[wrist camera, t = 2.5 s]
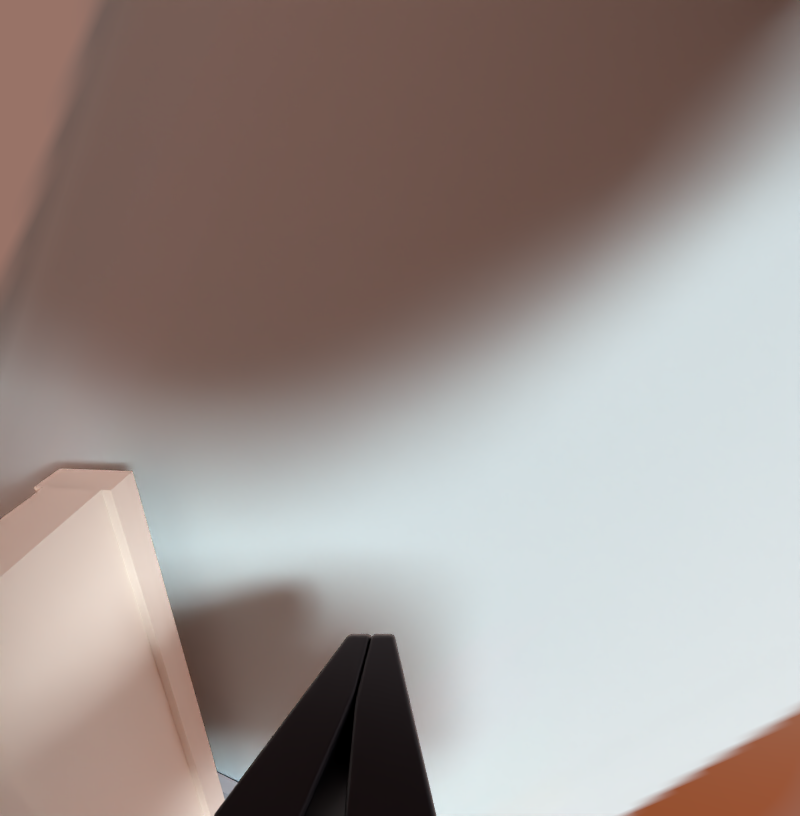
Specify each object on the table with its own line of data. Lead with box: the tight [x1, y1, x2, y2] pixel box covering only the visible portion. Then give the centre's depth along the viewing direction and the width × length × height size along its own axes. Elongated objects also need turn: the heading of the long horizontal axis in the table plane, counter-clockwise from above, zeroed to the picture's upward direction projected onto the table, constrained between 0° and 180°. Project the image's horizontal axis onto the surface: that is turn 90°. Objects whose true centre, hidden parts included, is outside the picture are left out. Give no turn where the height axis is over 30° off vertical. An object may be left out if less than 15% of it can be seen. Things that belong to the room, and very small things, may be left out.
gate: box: [0, 468, 225, 816], centre depth 11 cm, size 2×14×5 cm, turn 1°
